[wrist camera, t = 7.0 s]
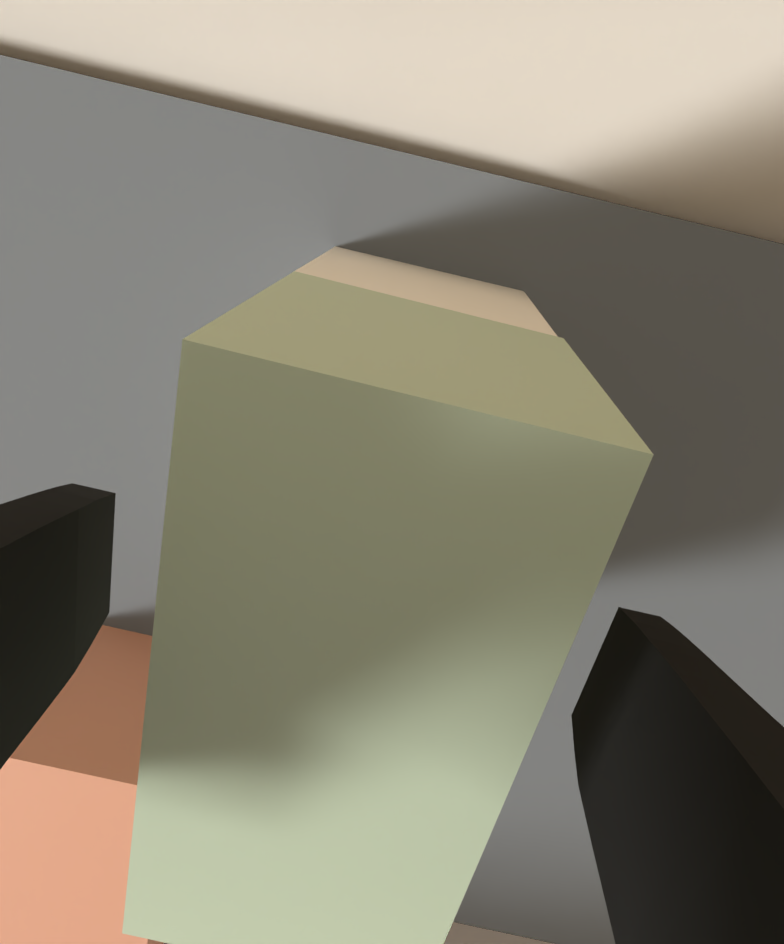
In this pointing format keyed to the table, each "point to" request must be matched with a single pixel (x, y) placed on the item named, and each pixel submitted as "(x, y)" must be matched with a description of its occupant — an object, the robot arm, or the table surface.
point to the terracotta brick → (76, 803)
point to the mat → (430, 246)
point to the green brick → (359, 609)
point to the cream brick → (429, 287)
